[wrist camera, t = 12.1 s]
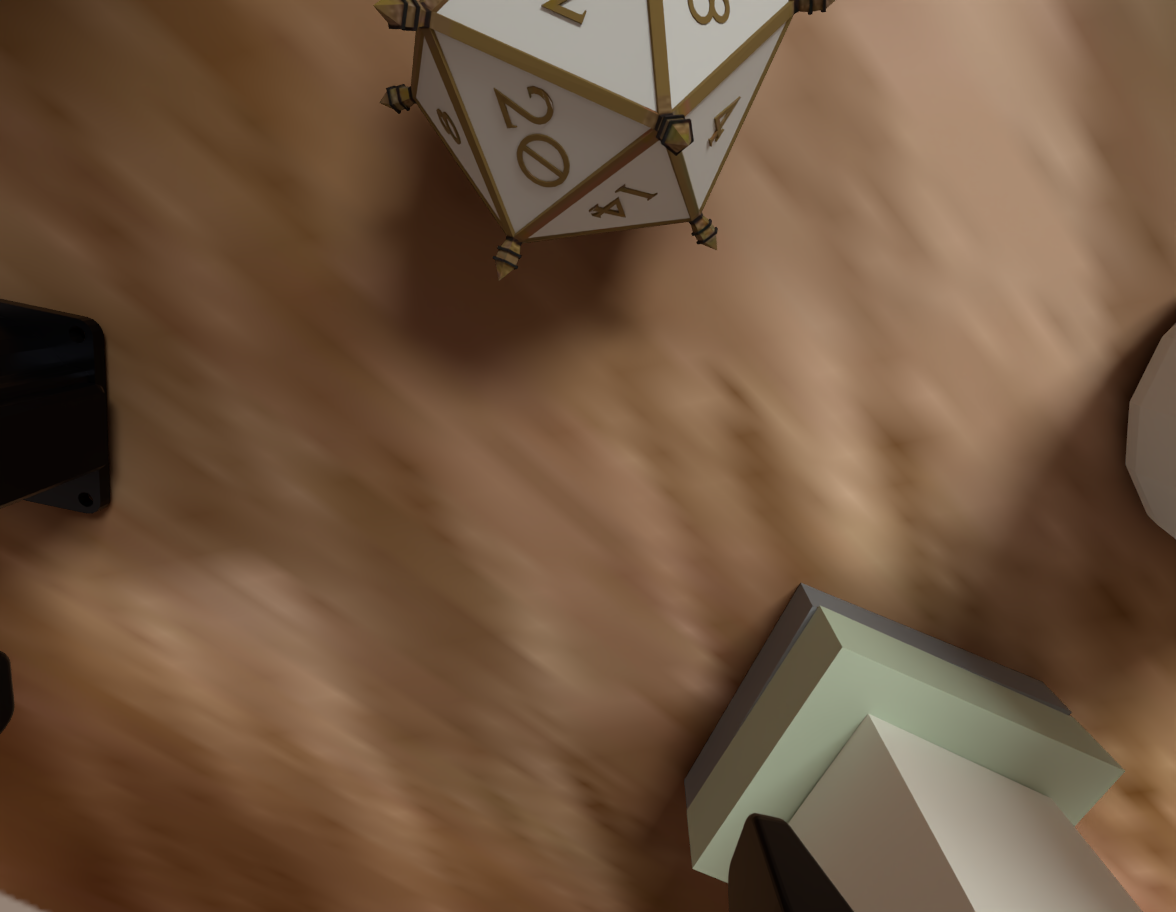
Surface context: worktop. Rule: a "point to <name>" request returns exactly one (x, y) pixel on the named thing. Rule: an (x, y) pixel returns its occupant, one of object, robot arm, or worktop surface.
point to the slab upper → (900, 697)
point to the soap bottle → (1155, 435)
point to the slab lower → (811, 598)
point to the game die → (589, 104)
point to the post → (945, 834)
